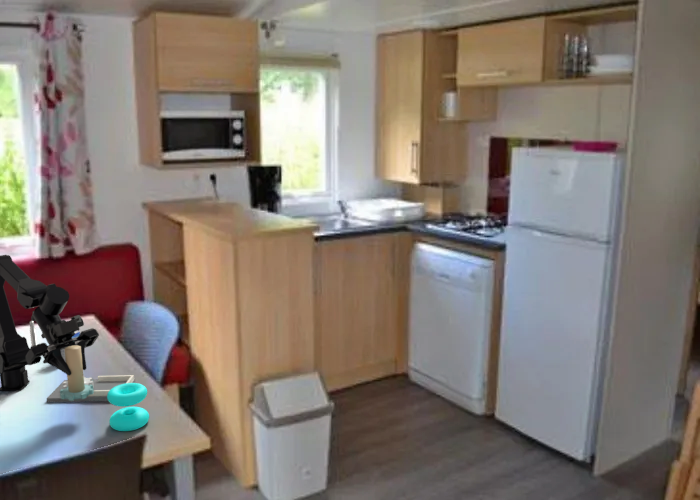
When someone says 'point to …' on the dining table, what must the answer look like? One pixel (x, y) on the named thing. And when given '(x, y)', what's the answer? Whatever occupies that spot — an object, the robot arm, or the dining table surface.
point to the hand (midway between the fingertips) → (77, 372)
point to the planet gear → (75, 376)
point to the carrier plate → (99, 386)
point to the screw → (33, 333)
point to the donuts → (130, 415)
